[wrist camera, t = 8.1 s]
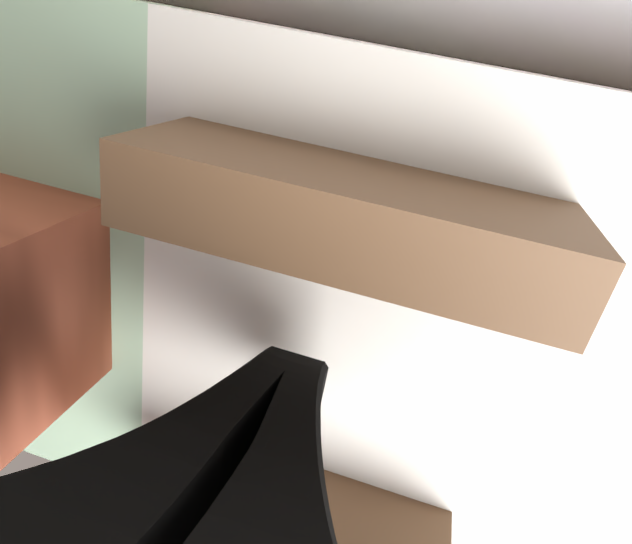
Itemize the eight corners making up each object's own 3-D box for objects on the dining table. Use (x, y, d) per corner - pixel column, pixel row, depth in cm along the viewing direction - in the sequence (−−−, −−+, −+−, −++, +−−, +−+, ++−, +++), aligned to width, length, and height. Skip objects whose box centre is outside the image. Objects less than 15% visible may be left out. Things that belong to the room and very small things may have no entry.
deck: (639, 581, 16) (728, 841, 11) (-178, 309, 21) (-388, 394, 16) (949, 150, 10) (1496, 261, 5) (-300, -83, 15) (-701, -153, 10)
